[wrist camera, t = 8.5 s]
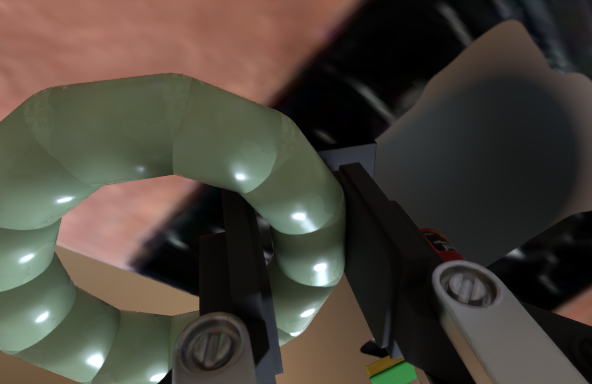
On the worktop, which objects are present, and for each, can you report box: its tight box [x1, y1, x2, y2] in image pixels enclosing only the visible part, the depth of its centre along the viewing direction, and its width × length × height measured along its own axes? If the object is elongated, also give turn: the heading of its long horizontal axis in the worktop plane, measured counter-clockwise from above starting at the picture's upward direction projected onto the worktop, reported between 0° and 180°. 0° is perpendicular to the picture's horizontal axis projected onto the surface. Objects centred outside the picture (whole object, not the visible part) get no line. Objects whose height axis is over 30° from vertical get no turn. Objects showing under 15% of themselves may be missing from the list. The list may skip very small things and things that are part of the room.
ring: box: [0, 73, 346, 384], centre depth 9 cm, size 9×9×2 cm
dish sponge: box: [366, 356, 418, 384], centre depth 62 cm, size 7×14×2 cm, turn 114°
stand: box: [313, 138, 377, 179], centre depth 34 cm, size 9×9×13 cm
